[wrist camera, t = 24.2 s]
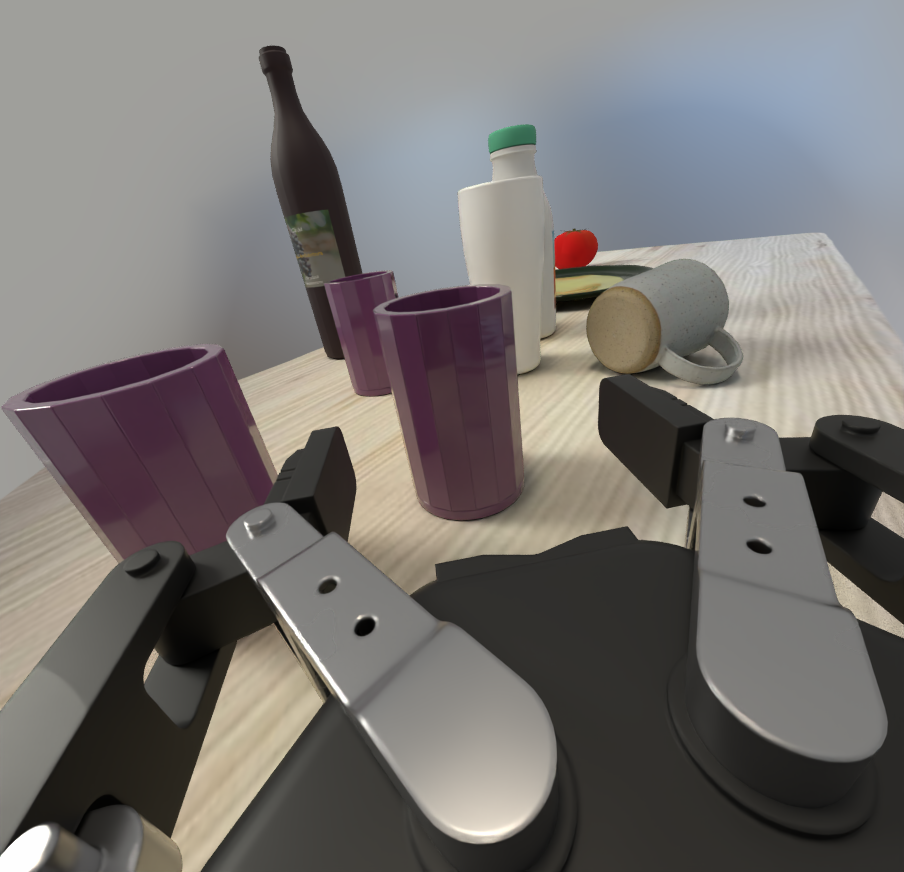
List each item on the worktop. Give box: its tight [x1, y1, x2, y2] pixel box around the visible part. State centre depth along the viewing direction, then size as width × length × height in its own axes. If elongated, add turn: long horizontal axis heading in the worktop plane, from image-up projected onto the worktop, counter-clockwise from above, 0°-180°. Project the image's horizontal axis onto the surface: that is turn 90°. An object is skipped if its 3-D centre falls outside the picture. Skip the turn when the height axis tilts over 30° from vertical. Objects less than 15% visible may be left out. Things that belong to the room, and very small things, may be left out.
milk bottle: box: [488, 125, 556, 338], centre depth 42 cm, size 8×8×20 cm
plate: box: [555, 265, 653, 302], centre depth 65 cm, size 28×28×2 cm
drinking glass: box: [458, 176, 545, 374], centre depth 34 cm, size 7×7×15 cm
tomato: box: [554, 229, 598, 269], centre depth 88 cm, size 9×10×8 cm
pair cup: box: [2, 344, 278, 563], centre depth 15 cm, size 6×6×10 cm
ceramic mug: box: [586, 259, 743, 384], centre depth 30 cm, size 11×8×8 cm
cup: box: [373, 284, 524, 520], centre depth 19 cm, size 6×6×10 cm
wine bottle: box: [259, 46, 362, 359], centre depth 45 cm, size 7×7×30 cm
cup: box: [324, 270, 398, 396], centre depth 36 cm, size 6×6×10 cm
